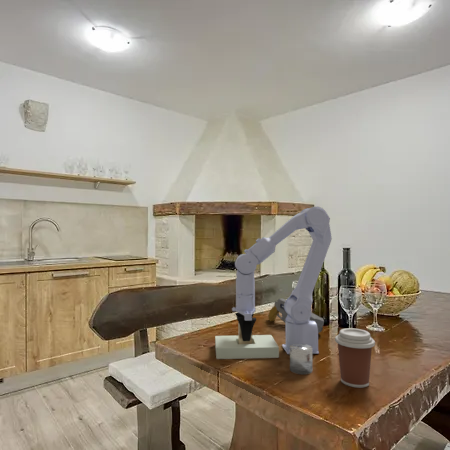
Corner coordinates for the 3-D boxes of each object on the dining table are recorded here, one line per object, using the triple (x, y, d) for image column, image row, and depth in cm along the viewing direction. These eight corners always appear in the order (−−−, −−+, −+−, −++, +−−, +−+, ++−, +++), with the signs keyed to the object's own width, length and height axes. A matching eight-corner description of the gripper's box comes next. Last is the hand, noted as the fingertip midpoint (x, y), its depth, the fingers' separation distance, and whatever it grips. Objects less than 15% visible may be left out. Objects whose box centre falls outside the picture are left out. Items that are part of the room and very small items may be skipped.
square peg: (250, 344, 109) (250, 321, 109) (252, 348, 105) (252, 325, 105) (238, 344, 109) (238, 322, 109) (239, 349, 105) (239, 325, 105)
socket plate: (271, 344, 114) (271, 334, 114) (278, 357, 102) (278, 347, 102) (215, 345, 113) (215, 335, 113) (216, 359, 101) (216, 348, 101)
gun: (308, 357, 125) (321, 322, 121) (264, 318, 144) (274, 286, 140) (314, 356, 127) (327, 320, 123) (270, 317, 146) (280, 285, 142)
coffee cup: (353, 371, 92) (353, 325, 92) (383, 385, 84) (383, 334, 84) (327, 378, 87) (327, 329, 87) (356, 393, 79) (356, 339, 79)
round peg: (308, 365, 96) (308, 343, 96) (315, 374, 90) (315, 350, 90) (287, 366, 96) (287, 343, 96) (292, 374, 90) (292, 351, 90)
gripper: (230, 289, 114) (230, 331, 114) (234, 298, 100) (234, 346, 100) (252, 289, 115) (252, 331, 115) (258, 298, 100) (259, 346, 100)
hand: (245, 338), depth 107 cm, fingers closed on square peg, 4 cm apart
